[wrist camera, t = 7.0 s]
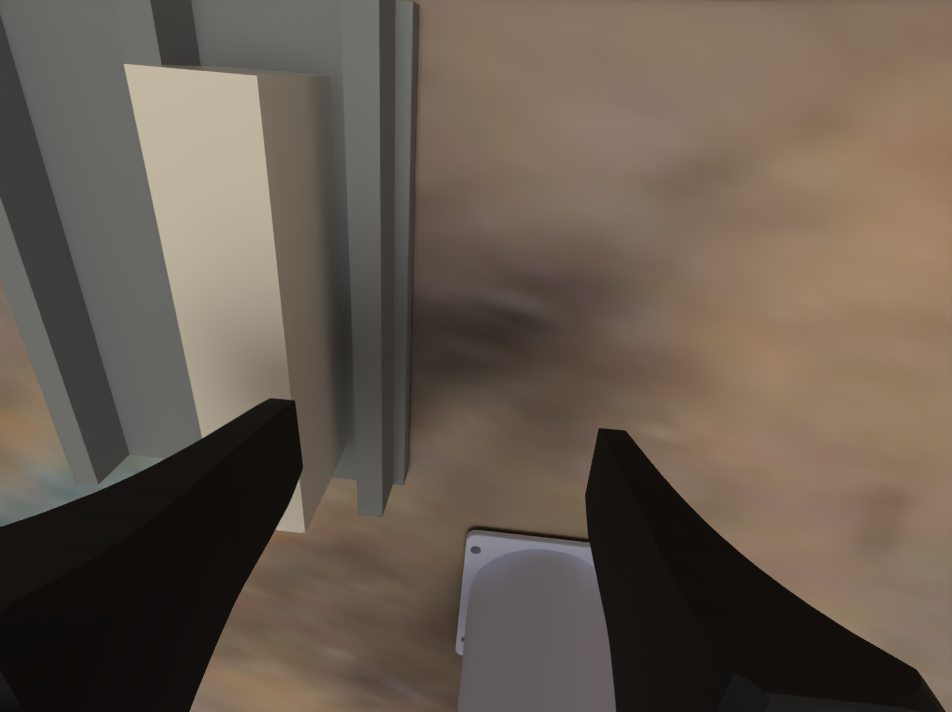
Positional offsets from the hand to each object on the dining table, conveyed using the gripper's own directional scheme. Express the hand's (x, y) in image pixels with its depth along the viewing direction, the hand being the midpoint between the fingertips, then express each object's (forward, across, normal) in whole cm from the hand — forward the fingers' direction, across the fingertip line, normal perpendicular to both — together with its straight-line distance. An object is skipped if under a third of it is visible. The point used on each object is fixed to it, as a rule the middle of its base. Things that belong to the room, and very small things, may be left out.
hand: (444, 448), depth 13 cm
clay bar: (+8, +6, -1) cm, 10 cm away
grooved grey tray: (+9, +9, -1) cm, 13 cm away
